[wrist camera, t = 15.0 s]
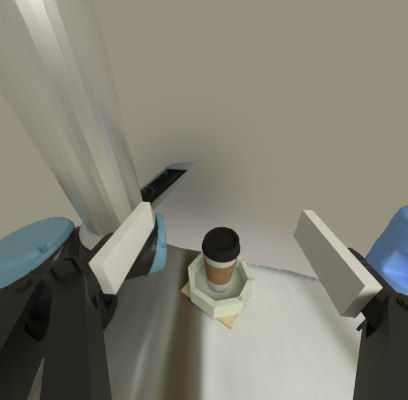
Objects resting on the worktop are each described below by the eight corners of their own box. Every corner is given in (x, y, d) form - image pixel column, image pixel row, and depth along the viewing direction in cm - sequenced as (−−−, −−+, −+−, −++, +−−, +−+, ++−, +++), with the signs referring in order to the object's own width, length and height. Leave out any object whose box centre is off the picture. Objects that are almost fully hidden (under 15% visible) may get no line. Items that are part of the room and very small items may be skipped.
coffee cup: (241, 281, 42) (249, 237, 34) (220, 306, 36) (225, 261, 29) (216, 262, 47) (218, 221, 39) (195, 282, 41) (193, 238, 34)
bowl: (177, 292, 41) (175, 279, 38) (210, 253, 52) (210, 242, 49) (231, 334, 33) (234, 322, 31) (257, 278, 44) (260, 266, 42)
